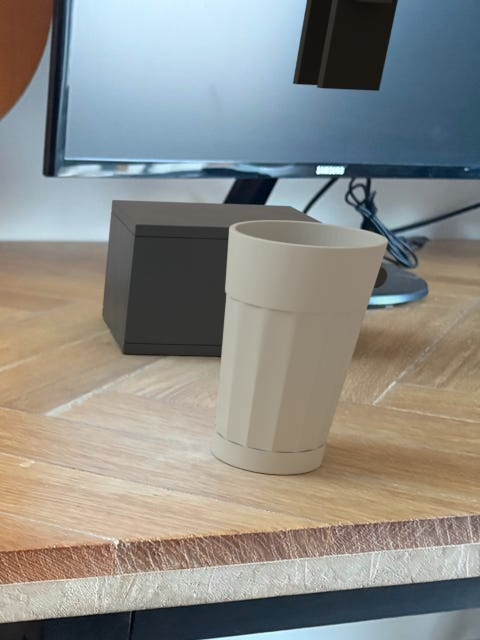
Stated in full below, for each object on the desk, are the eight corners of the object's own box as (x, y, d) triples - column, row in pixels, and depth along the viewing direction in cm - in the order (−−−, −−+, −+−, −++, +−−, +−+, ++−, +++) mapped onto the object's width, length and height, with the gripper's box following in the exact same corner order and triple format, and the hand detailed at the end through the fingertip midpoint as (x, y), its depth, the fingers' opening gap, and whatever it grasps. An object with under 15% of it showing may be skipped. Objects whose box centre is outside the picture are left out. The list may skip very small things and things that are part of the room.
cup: (366, 463, 57) (421, 241, 50) (270, 490, 53) (316, 252, 47) (262, 422, 62) (300, 216, 56) (168, 443, 58) (197, 225, 52)
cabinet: (270, 320, 85) (290, 205, 80) (313, 358, 75) (339, 230, 71) (101, 315, 84) (112, 199, 80) (122, 354, 74) (135, 224, 70)
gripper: (303, -557, 42) (218, 76, 55) (475, -839, 28) (310, 93, 41) (474, -543, 43) (351, 82, 55) (725, -814, 29) (487, 100, 41)
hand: (334, 86), depth 48 cm, fingers open, 3 cm apart
